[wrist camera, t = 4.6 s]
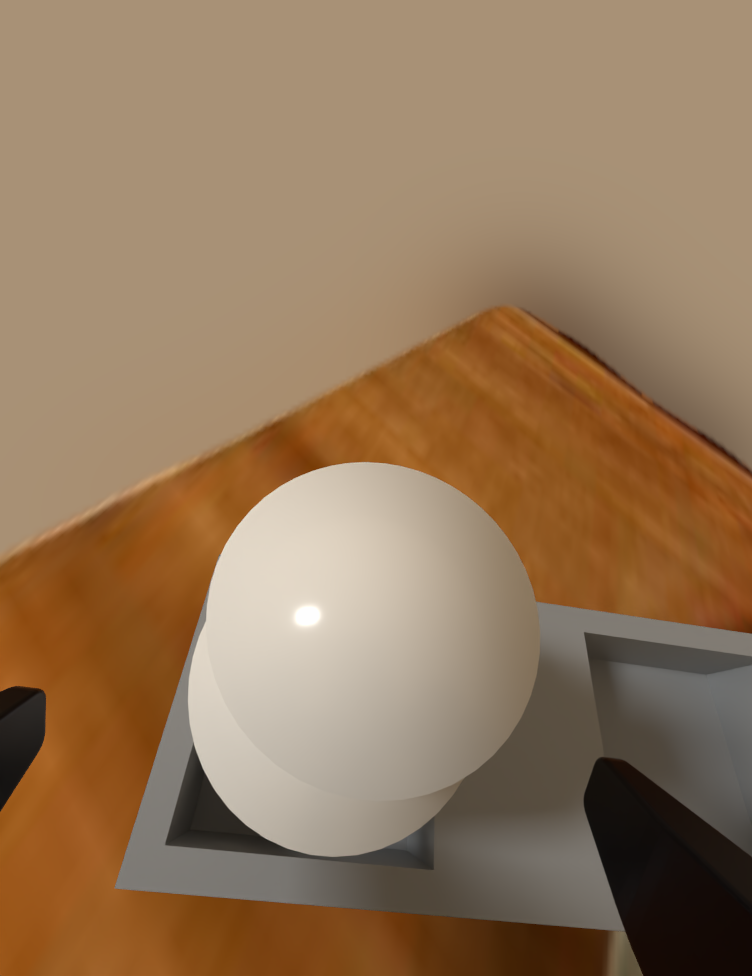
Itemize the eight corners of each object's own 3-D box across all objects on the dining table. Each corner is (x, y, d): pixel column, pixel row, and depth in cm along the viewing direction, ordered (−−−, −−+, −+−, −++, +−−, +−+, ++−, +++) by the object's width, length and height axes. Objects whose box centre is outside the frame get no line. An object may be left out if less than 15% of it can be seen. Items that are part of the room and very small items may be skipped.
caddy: (784, 916, 14) (916, 955, 11) (157, 859, 13) (114, 888, 10) (706, 659, 19) (785, 638, 16) (232, 592, 17) (219, 554, 14)
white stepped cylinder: (416, 736, 15) (710, 667, 4) (291, 845, 13) (286, 1201, 2) (338, 617, 17) (417, 364, 6) (217, 697, 14) (25, 523, 4)
